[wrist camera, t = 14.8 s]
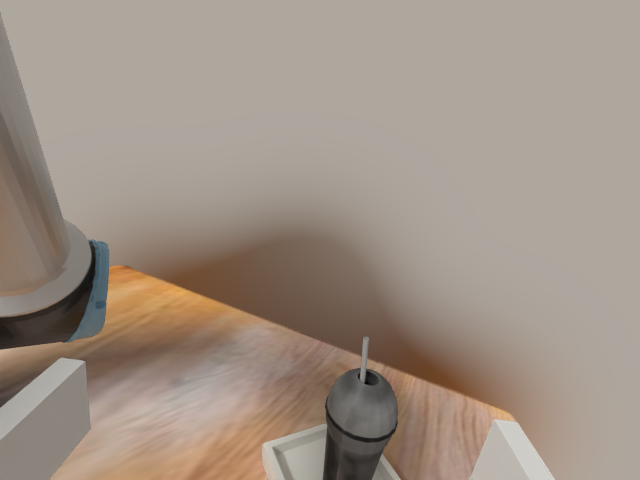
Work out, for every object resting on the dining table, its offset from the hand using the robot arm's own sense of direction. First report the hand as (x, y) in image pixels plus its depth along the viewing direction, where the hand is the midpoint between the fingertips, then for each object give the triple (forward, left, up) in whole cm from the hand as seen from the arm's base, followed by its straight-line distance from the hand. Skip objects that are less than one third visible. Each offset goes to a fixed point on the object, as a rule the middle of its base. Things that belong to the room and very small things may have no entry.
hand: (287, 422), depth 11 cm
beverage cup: (-12, +15, -28) cm, 34 cm away
